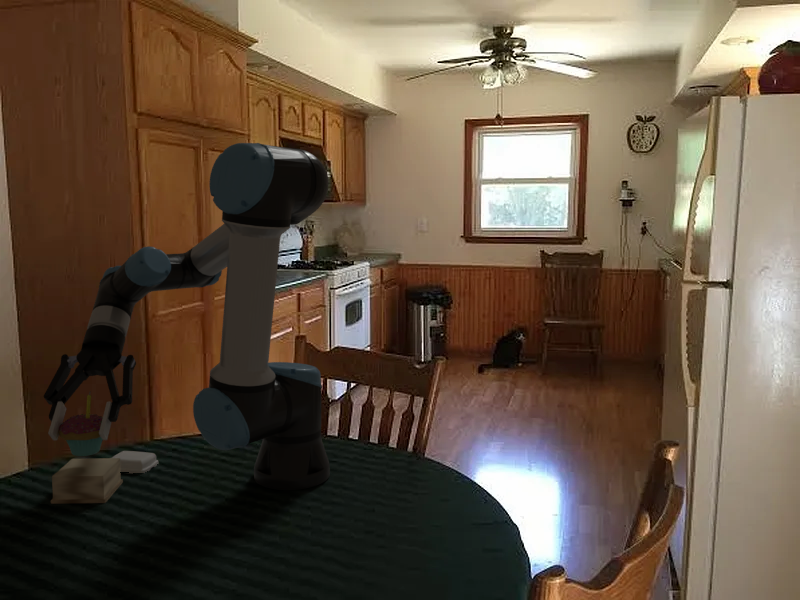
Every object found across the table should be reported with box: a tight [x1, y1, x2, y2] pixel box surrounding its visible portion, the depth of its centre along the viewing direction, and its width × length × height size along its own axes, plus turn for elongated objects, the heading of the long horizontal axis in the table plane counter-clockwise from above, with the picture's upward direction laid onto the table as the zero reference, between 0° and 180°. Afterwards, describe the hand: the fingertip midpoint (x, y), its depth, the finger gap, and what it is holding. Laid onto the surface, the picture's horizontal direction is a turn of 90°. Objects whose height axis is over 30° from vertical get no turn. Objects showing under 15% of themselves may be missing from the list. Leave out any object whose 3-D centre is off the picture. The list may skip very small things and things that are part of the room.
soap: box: [111, 450, 159, 474], centre depth 141 cm, size 9×7×3 cm
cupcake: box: [58, 390, 104, 457], centre depth 126 cm, size 9×8×12 cm
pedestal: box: [50, 457, 124, 505], centre depth 128 cm, size 10×10×5 cm
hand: (77, 436), depth 123 cm, fingers closed on cupcake, 8 cm apart
